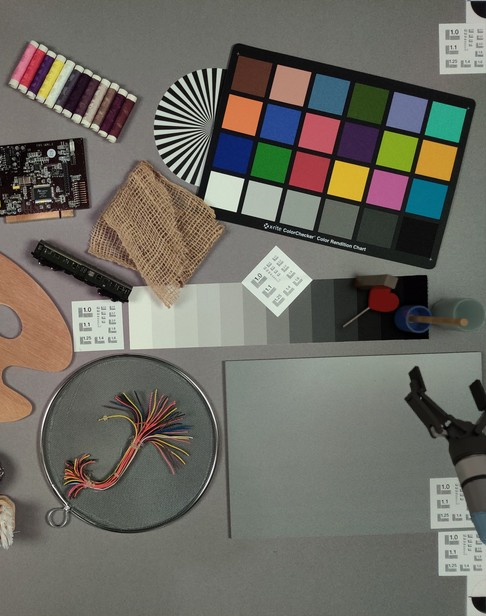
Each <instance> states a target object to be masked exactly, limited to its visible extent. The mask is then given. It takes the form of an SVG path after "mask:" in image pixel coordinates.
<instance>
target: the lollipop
mask: <svg viewBox="0 0 486 616" xmlns="http://www.w3.org/2000/svg"><path fill="white" fill-rule="evenodd" d="M391 290H392V289H369V291H368V292H369V293H368V297H367V298H368V299H367V300H368V301H367V306H368V307H366V308H365V309H364V310H363V311H361V312H360V313H358V314H357V315H356V316H354V317H353V318H352V319H350V320H349V321H347V322H346V323H344V325H342V327H343V328H345V327H346V326H348V325H350V323H351V322H353V321H354V320H356V319H358V317H360V316H361V315H362V314H364V313H365V312H367V311H368V310H373V311H376V312H380V313H381V312H382V313H389V312H393V311H395V310H396V309H397V308H398V307H399V304H400V299H399V297H398V296H397V294H396V293H393V292H391Z"/></svg>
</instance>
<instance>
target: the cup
mask: <svg viewBox="0 0 486 616" xmlns="http://www.w3.org/2000/svg"><path fill="white" fill-rule="evenodd" d="M431 314H432V317H447V318H464V319H467V321H468V324H467V325H466V326H456V325H443V324H435V325H436V326H438V327H440V328H442V329H444V330H449V331H455V332H464V333H465V332H466V333H471V332H475V331H478V330H479V329H481V328H482V327H483V325H484V324H485V321H486V308H485V306H484V304H483V303H482V302H481V301H479V300H478V299H474V298H470V297H469V298H468V297H452V298H445V299H442V300H439V301H438V302H437V303H435V304H434V305H433V308H432V311H431Z"/></svg>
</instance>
